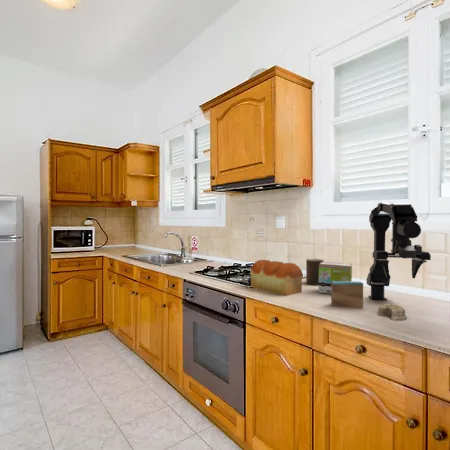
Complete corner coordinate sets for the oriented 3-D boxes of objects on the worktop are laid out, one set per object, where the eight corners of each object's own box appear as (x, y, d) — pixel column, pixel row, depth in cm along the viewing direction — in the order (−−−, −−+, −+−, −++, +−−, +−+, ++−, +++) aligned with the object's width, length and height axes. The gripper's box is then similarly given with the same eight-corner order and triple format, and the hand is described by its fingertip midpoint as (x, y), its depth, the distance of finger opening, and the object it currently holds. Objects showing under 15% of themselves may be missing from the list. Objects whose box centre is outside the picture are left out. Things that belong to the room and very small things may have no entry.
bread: (302, 292, 161) (302, 263, 161) (287, 296, 153) (287, 265, 153) (265, 285, 180) (265, 258, 180) (249, 288, 172) (250, 260, 172)
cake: (388, 311, 128) (388, 298, 127) (412, 318, 119) (413, 304, 119) (371, 315, 123) (371, 301, 123) (396, 322, 114) (396, 307, 114)
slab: (331, 303, 139) (331, 280, 139) (360, 304, 137) (360, 281, 137) (333, 306, 135) (333, 282, 135) (362, 307, 133) (363, 283, 133)
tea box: (318, 293, 159) (318, 263, 159) (321, 289, 168) (321, 261, 168) (350, 296, 153) (350, 265, 153) (351, 292, 162) (352, 262, 162)
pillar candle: (319, 286, 177) (319, 258, 176) (303, 283, 183) (303, 257, 183) (326, 283, 184) (326, 257, 184) (310, 281, 190) (310, 256, 190)
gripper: (382, 237, 114) (381, 281, 114) (438, 238, 111) (438, 283, 112) (372, 236, 125) (371, 276, 125) (423, 236, 122) (423, 277, 123)
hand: (400, 278), depth 121 cm, fingers open, 9 cm apart
